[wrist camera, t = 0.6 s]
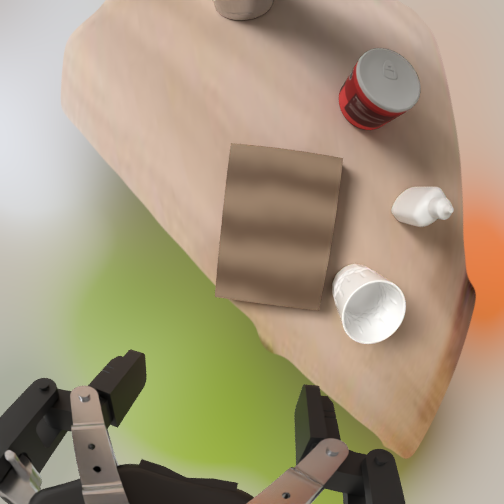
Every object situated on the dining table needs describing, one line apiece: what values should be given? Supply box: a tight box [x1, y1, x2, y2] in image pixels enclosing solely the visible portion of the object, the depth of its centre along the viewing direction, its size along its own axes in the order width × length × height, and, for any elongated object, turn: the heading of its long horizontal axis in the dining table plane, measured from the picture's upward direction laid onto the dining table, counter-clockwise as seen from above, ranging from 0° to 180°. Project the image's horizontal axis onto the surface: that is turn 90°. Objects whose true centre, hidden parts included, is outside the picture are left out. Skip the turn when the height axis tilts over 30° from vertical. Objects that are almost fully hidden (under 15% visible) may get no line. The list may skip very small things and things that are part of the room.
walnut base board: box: [215, 143, 343, 311], centre depth 37 cm, size 20×14×3 cm
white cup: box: [332, 264, 406, 344], centre depth 34 cm, size 8×8×10 cm
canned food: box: [339, 48, 420, 130], centre depth 28 cm, size 8×8×11 cm
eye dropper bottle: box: [391, 187, 453, 227], centre depth 30 cm, size 4×6×12 cm
